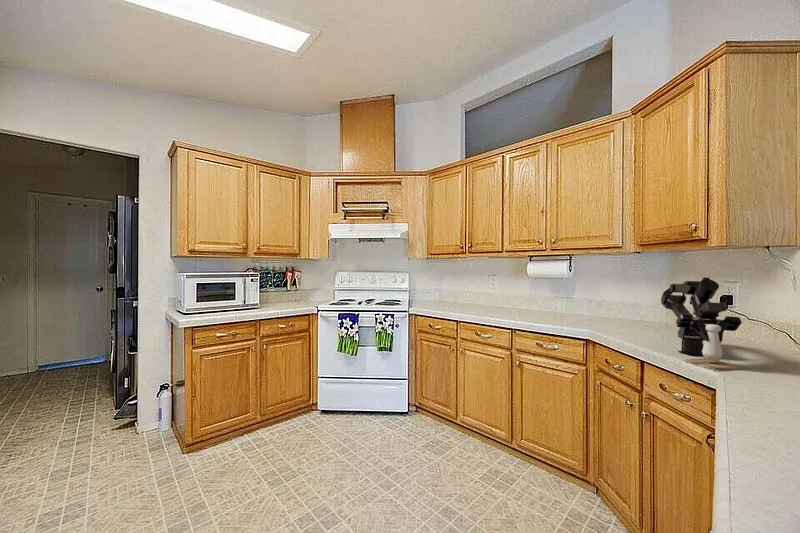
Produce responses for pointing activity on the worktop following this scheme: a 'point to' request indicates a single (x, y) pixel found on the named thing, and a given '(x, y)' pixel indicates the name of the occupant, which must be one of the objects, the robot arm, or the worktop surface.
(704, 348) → the salt shaker
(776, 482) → the worktop surface
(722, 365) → the board
